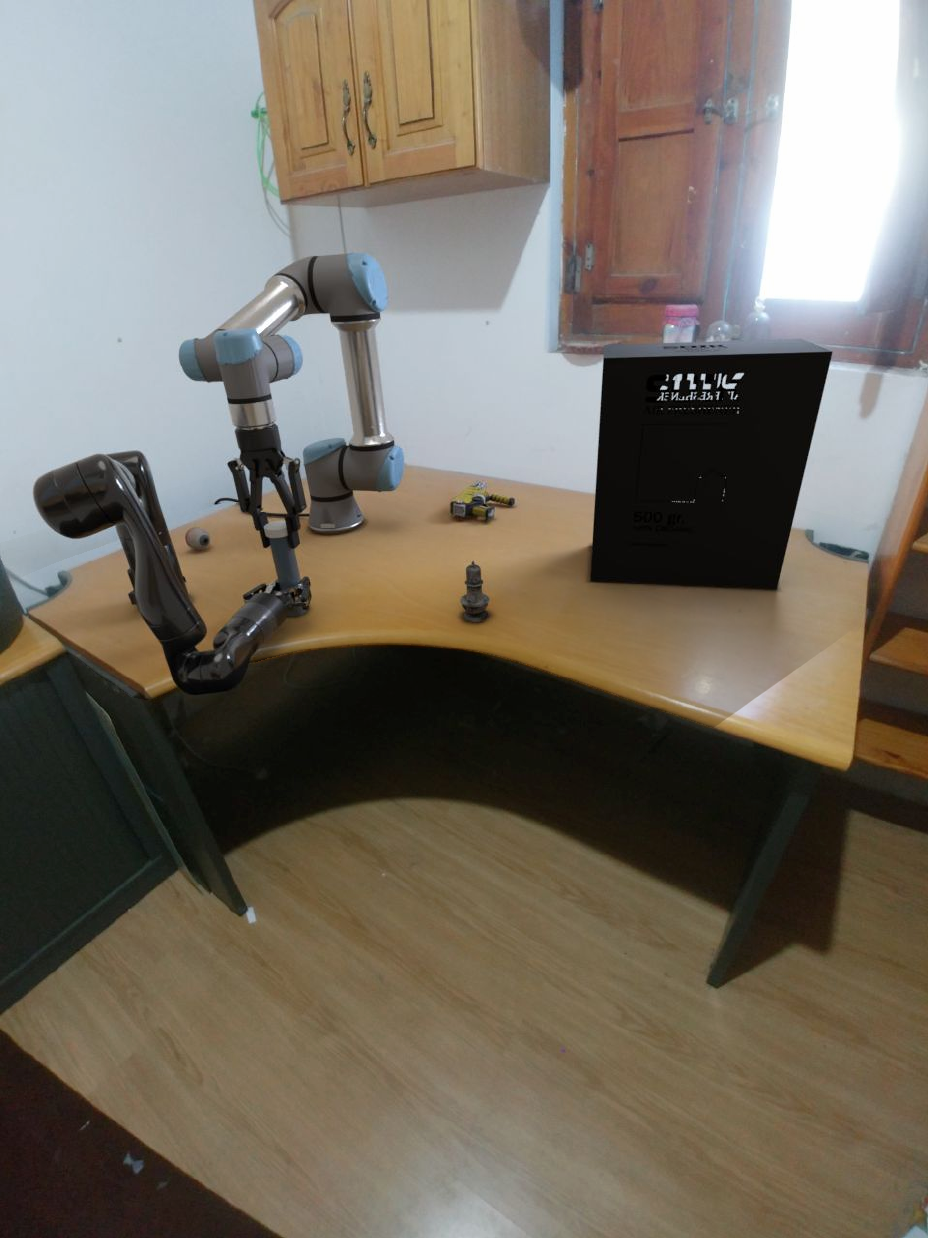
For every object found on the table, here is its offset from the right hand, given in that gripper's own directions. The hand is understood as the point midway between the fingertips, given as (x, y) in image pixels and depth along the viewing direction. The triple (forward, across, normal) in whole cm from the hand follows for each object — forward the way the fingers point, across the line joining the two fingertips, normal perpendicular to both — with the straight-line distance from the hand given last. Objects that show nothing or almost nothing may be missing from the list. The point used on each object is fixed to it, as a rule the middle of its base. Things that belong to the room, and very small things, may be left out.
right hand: (281, 545), depth 119 cm
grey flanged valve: (+15, -38, -1) cm, 41 cm away
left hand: (+9, 0, -3) cm, 9 cm away
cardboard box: (+15, -80, -28) cm, 86 cm away
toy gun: (+15, -32, -64) cm, 73 cm away
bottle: (+15, 0, 0) cm, 15 cm away
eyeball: (+15, +40, -30) cm, 52 cm away
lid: (-4, 0, 0) cm, 4 cm away
